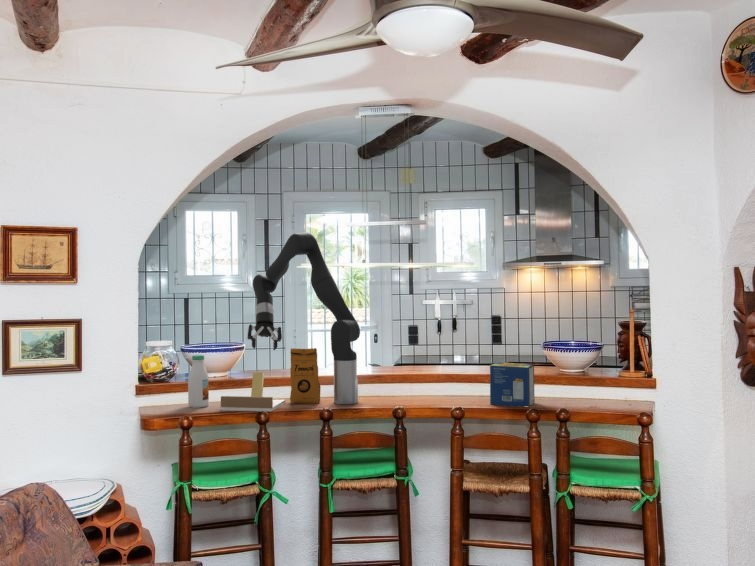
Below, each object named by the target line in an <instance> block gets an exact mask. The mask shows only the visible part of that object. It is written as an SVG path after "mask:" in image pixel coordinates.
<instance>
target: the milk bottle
mask: <svg viewBox="0 0 755 566" xmlns="http://www.w3.org/2000/svg"><path fill="white" fill-rule="evenodd" d="M191 359H192V360H191V362H192V364H191V368H190V370H189V373H188V376H187V377H188V379H187V380H188V381H187V384H188V385H187V392H188V394H187V395H188V397H187V399H188V401H187V402H188V403H187V404H188V407H189V408H193V409H194V408H195V409H197V408H205V407H208V406H209V401H210V397H209V396H210V395H209V373H208V370H207V368H206V366H205V355H203V354H194V355H192V357H191Z"/></svg>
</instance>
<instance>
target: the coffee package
mask: <svg viewBox="0 0 755 566" xmlns="http://www.w3.org/2000/svg"><path fill="white" fill-rule="evenodd" d="M317 351H318V349H317V348H316V347H315V348H290V352H289V353H290V368H289V369H290V372H289V373H290V375H289V376H290V384H291V385H290V388H291V389H290V396H289V402H290V403H292V404H298V405H299V404H303V405H305V404H307V405H309V404H311V405H312V404H319V403H320V402H321V383H320V380H319V366H318V352H317Z"/></svg>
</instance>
